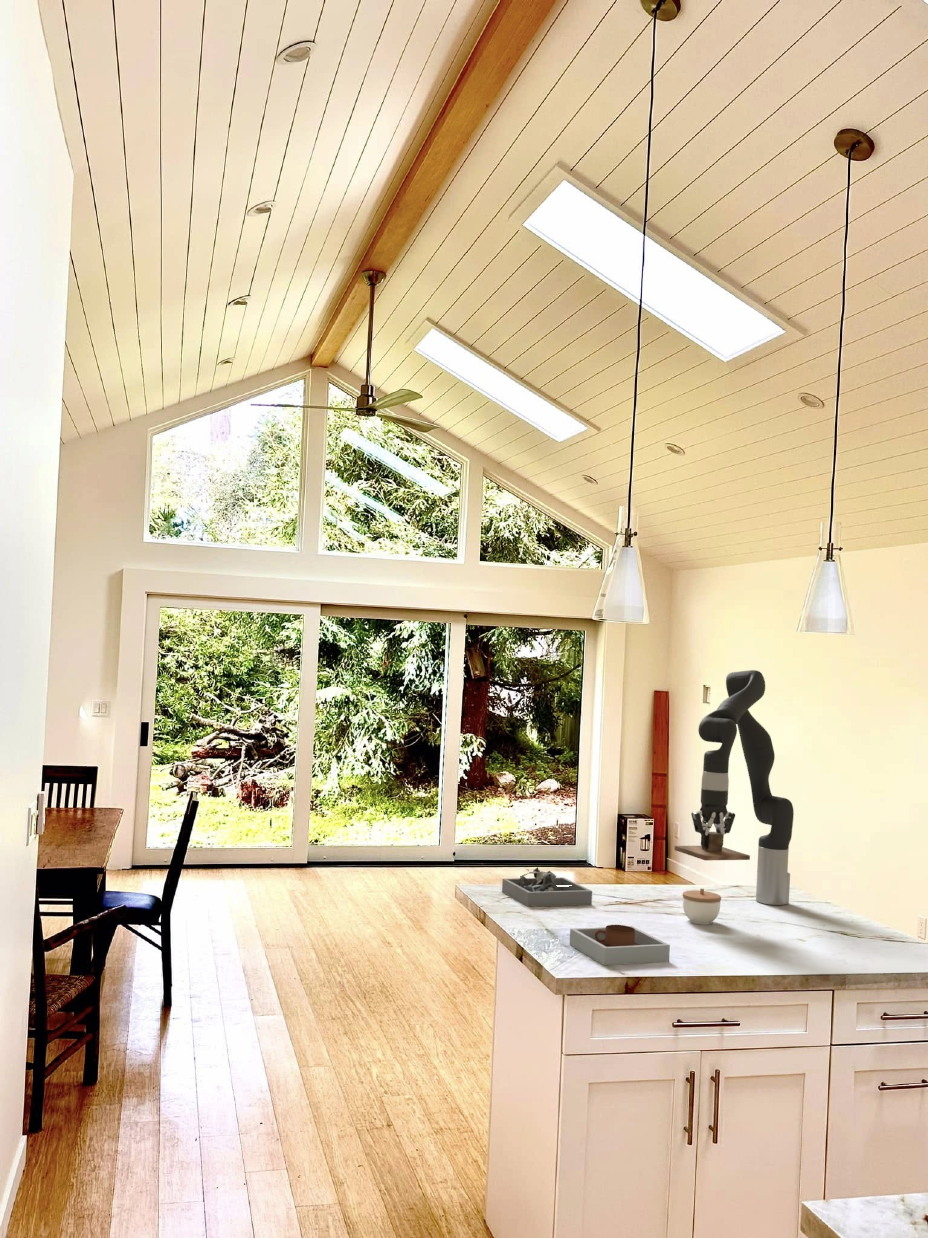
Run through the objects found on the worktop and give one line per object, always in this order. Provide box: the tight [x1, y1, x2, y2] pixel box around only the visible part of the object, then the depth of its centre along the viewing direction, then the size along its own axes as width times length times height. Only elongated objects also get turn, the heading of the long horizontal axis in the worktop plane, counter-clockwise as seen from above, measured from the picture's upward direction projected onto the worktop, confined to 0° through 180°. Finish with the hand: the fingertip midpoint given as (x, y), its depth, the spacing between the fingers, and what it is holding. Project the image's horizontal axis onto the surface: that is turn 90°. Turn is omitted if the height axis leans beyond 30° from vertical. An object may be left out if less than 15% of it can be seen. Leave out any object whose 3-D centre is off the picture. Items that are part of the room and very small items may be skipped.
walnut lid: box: [674, 831, 751, 861], centre depth 297 cm, size 15×15×6 cm
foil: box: [518, 867, 557, 892], centre depth 317 cm, size 12×11×15 cm
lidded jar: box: [682, 887, 722, 926], centre depth 297 cm, size 11×11×9 cm
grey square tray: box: [569, 925, 671, 966], centre depth 259 cm, size 18×18×4 cm
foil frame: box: [501, 876, 593, 907], centre depth 316 cm, size 21×19×4 cm
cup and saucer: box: [595, 924, 640, 947], centre depth 260 cm, size 12×12×6 cm
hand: (711, 848), depth 297 cm, fingers closed on walnut lid, 4 cm apart
